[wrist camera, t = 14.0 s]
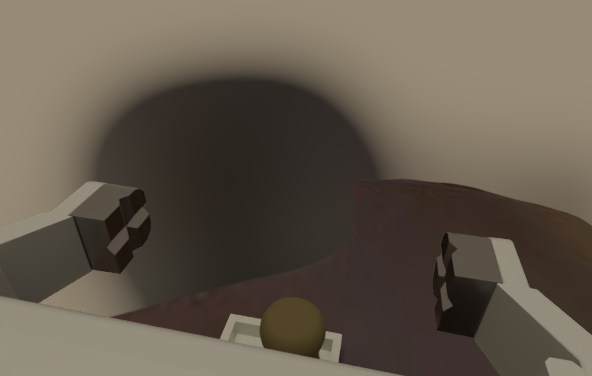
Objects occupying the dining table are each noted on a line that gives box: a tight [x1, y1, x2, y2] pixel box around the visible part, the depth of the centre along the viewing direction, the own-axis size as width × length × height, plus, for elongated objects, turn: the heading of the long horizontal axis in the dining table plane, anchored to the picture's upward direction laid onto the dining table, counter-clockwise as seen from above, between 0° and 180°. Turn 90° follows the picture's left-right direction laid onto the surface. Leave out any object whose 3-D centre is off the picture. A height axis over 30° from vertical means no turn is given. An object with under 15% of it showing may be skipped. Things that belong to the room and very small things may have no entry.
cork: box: [260, 297, 326, 359], centre depth 34 cm, size 6×6×11 cm
